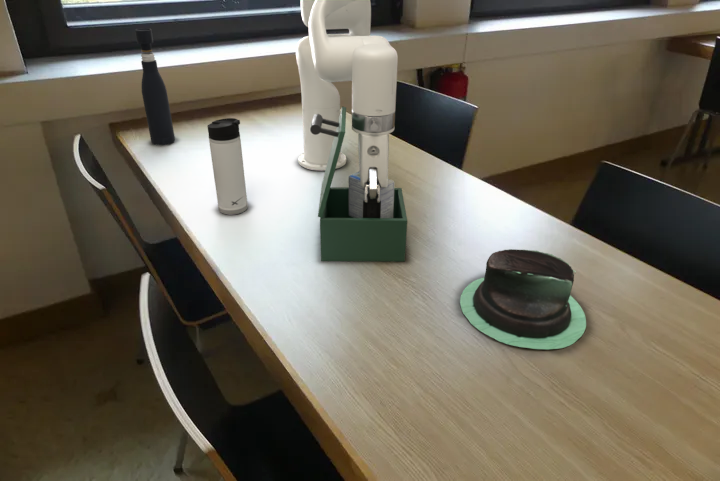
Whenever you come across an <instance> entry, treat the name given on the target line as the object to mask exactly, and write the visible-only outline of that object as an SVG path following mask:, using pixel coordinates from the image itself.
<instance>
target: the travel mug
mask: <svg viewBox="0 0 720 481" xmlns="http://www.w3.org/2000/svg"><path fill="white" fill-rule="evenodd" d="M240 124H241V120H240V119H238V118H234V117H232V118H231V117H227V118H219V119H215V120H213V121H211V123H208V124H207V127H206V128H207V132H208V143H209V150H210V157H211V164H212V171H213V179H214V187H215V193H216V199H217V207H218V208H217V209H218V211H219V212H220V213H221V214H223V215H228V216H234V215H240V214H243V213H244V212H246V211H247V210H248V208H249V206H248V194H247V188H246V177H245V169H244V167H245V166H244V159H243V149H242V141H241V140H242V139H241V134H240Z"/></svg>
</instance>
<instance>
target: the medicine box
mask: <svg viewBox="0 0 720 481" xmlns="http://www.w3.org/2000/svg"><path fill="white" fill-rule="evenodd" d="M367 185H370V182H367ZM377 185H378V182H377ZM348 187H349V216H351V217H354V218H363V200H365V188H363V187H362V186H361V180H360V171H356V172H354V173H352V174H350V175H349V176H348ZM394 188H395V181H394V179H390V178H388V186H387V188H384V187H381V185H380V200H381V215H380V218H393V209H394ZM368 192H369V189H368Z"/></svg>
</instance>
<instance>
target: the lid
mask: <svg viewBox="0 0 720 481" xmlns="http://www.w3.org/2000/svg"><path fill="white" fill-rule="evenodd" d="M346 121H347V107H346V106H341V108H340V117H339V120H338V122H334V121H331V120H327V119H323V118H322V116H321V115H320V114H315V115H314V116H313V118H312V123H311V128H310V131H311V133H312V134H314V135H317V134H319V133H324V134H327V135H331V136H334V140H333V143H332V147H331V151H330V155H329V159H328V163H327V166H326V170H325V171H324V174H323V178H322V181H321V188H320V195H319V203H318V211H317V217H318V218H320V217H321V218H322V216H323V213H324V209H325V205H326V202H327V198H328V194H329V191H330V187H332V182H333V179H334V176H335V172H336V169H335V168H336V165H337V161H338V157H339V154H340V152H341V150H342V146H343V143H344V138H345V135H346V125H347V123H346ZM322 123H323V124H327V125H331V126H335V127H337V128H336V131H332V130H328V129H325V128H321V126H322Z"/></svg>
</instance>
